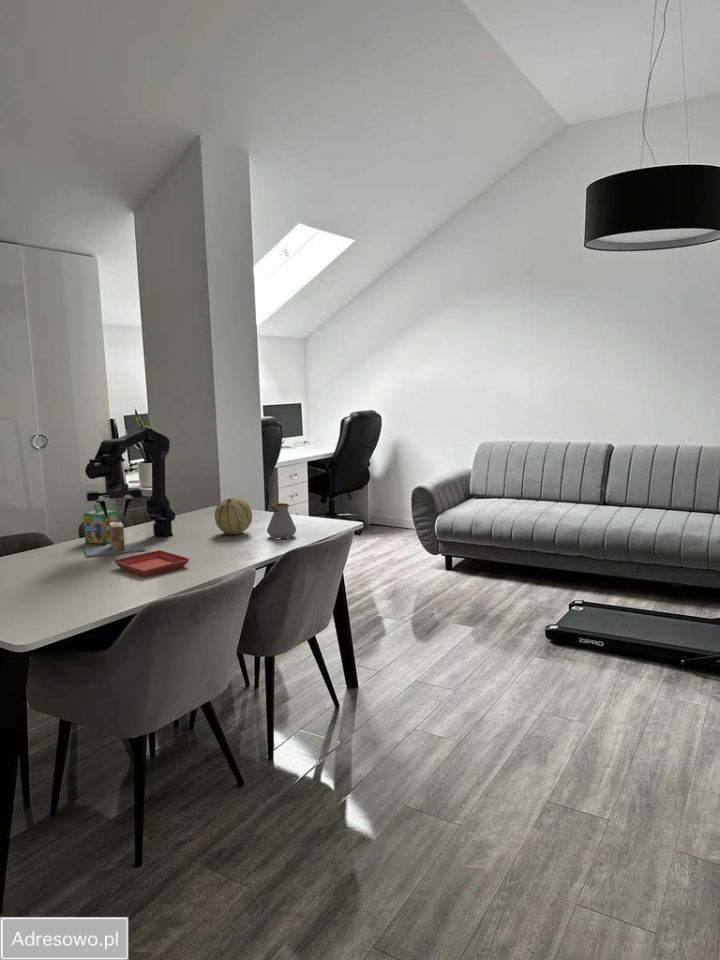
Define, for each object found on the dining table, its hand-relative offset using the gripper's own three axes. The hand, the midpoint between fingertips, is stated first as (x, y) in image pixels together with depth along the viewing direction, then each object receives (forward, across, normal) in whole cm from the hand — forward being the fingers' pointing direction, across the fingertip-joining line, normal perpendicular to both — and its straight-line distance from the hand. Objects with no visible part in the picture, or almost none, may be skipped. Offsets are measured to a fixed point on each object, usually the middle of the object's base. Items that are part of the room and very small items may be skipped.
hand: (115, 517), depth 257 cm
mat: (+12, -1, 0) cm, 12 cm away
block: (+11, 0, 0) cm, 11 cm away
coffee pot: (+12, +58, -11) cm, 60 cm away
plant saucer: (+13, +8, -30) cm, 34 cm away
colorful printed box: (+12, -4, +17) cm, 21 cm away
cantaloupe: (+12, +45, +7) cm, 47 cm away
